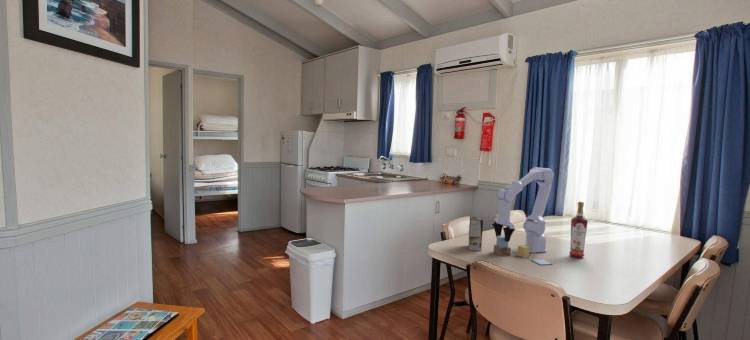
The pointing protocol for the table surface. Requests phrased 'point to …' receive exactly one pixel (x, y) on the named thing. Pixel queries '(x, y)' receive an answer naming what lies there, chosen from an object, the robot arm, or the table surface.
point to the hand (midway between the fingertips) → (502, 239)
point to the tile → (541, 262)
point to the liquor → (578, 233)
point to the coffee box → (475, 233)
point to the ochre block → (523, 250)
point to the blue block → (501, 242)
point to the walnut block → (502, 251)
